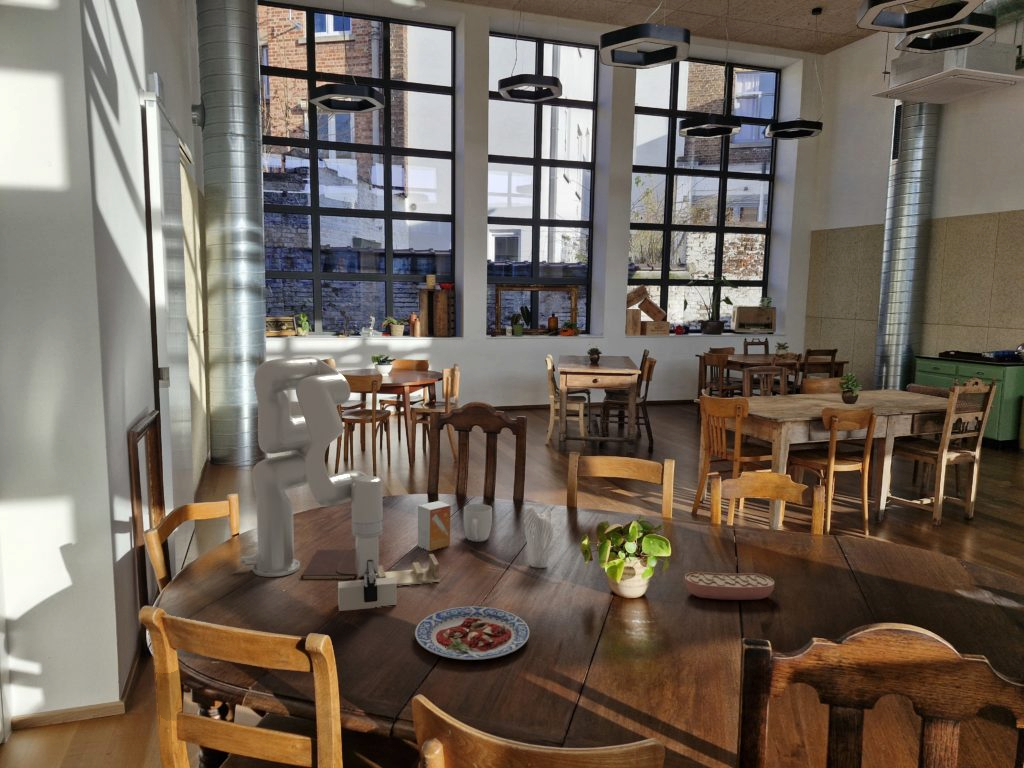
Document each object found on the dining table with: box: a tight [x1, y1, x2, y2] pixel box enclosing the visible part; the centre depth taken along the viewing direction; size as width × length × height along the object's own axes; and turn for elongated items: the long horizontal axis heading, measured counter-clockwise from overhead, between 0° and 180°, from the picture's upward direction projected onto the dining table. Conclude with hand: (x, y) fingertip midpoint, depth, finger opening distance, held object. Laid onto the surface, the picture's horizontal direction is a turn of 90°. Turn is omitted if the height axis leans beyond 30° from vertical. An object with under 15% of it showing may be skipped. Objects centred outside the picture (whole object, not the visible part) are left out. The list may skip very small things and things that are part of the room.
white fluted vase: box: [523, 505, 554, 569], centre depth 213 cm, size 8×8×18 cm
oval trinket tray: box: [684, 571, 775, 601], centre depth 194 cm, size 23×10×5 cm, turn 89°
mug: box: [462, 503, 493, 543], centre depth 233 cm, size 13×9×10 cm
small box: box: [417, 500, 452, 552], centre depth 227 cm, size 8×6×13 cm
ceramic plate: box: [414, 605, 530, 661], centre depth 168 cm, size 26×26×3 cm
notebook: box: [300, 548, 359, 580], centre depth 211 cm, size 15×20×2 cm
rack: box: [376, 553, 440, 586], centre depth 201 cm, size 20×9×5 cm, turn 107°
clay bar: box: [337, 577, 398, 612], centre depth 185 cm, size 14×4×6 cm, turn 105°
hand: (368, 593), depth 185 cm, fingers open, 9 cm apart
